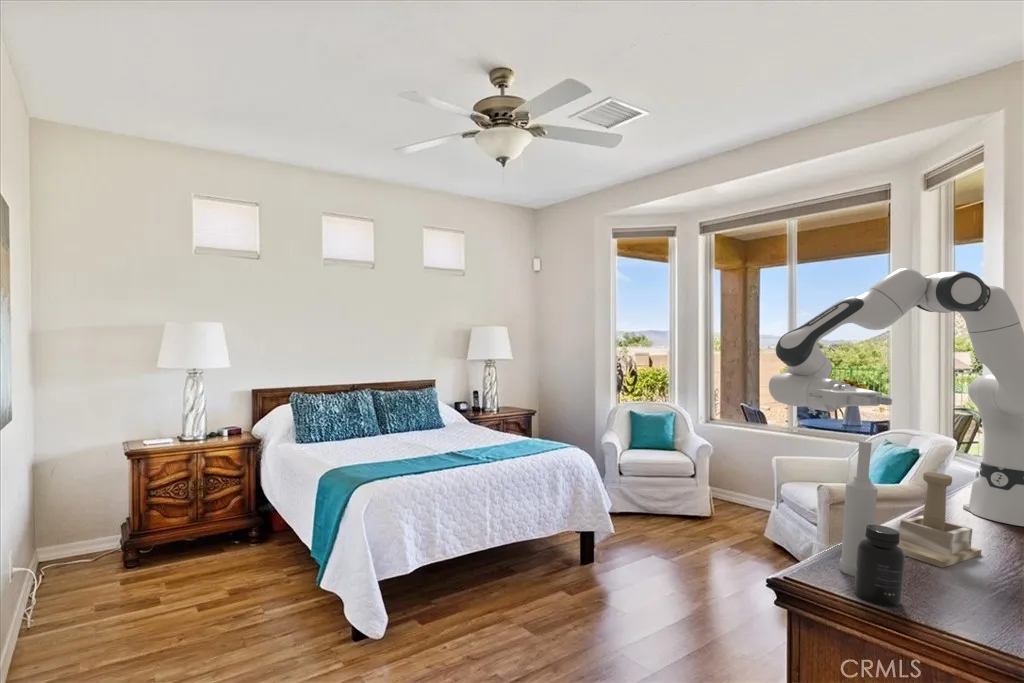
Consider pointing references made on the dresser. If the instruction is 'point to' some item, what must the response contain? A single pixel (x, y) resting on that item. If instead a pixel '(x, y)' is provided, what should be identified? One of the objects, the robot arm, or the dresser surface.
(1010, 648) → the dresser surface
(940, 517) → the handle
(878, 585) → the supplement bottle
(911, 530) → the tool holder
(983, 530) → the dresser surface
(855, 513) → the bottle
